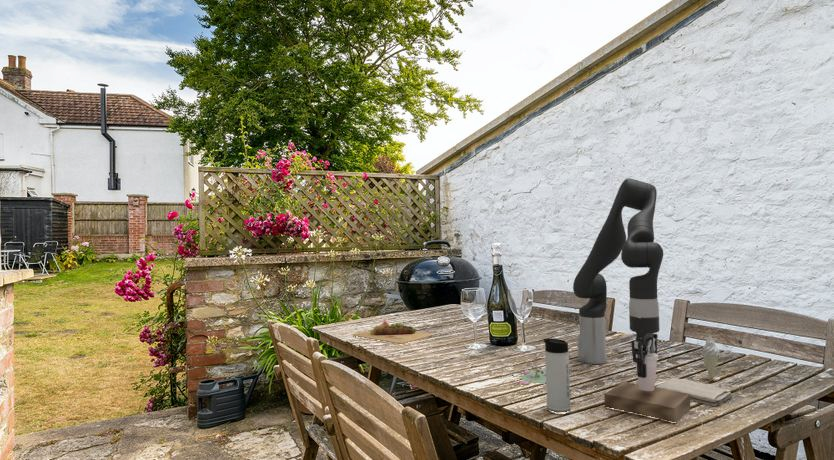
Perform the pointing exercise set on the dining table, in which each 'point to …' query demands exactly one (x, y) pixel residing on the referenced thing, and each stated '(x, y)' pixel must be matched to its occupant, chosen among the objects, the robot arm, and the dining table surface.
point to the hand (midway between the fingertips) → (646, 374)
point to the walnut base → (648, 401)
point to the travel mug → (557, 375)
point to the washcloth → (697, 391)
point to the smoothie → (649, 373)
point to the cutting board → (393, 333)
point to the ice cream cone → (710, 356)
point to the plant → (534, 375)
